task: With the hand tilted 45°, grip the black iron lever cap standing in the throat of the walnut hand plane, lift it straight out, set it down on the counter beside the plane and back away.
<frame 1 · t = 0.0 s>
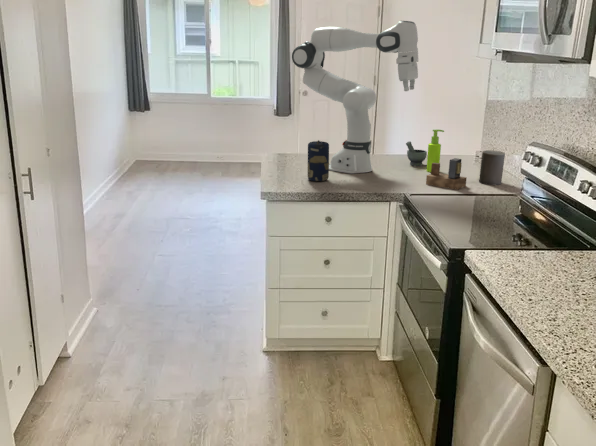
hand: (409, 90, 268), 39 cm above the countertop, tool pointing down, fingers open, 8 cm apart
soap dispenser: (433, 171, 287), on the countertop
candle: (317, 180, 268), on the countertop
pillar candle: (490, 182, 266), on the countertop
mortar and pestle: (414, 165, 301), on the countertop
hand plane: (453, 186, 257), on the countertop
lever cap: (453, 186, 257), resting in hand plane
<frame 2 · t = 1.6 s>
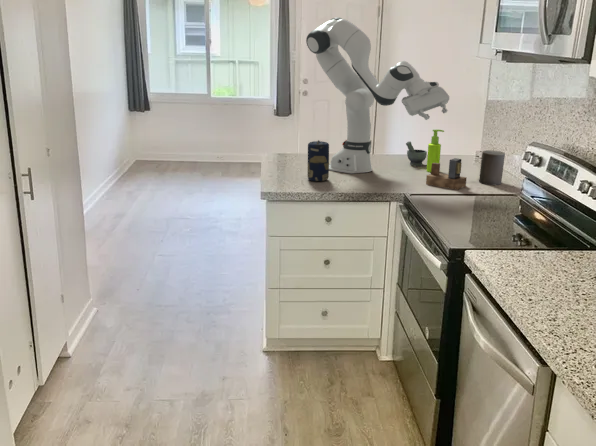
hand: (436, 115, 252), 30 cm above the countertop, tool tilted 50°, fingers open, 8 cm apart
nothing on the countertop moved.
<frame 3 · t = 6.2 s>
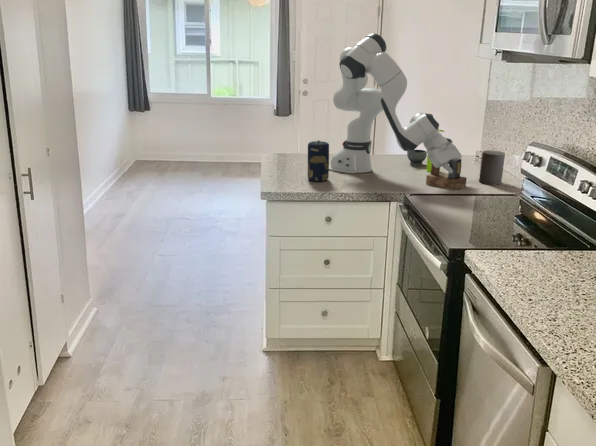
hand: (455, 171, 255), 7 cm above the countertop, tool tilted 45°, fingers closed on lever cap, 5 cm apart
lever cap: (453, 186, 257), resting in hand plane, touching gripper
everything else where it was.
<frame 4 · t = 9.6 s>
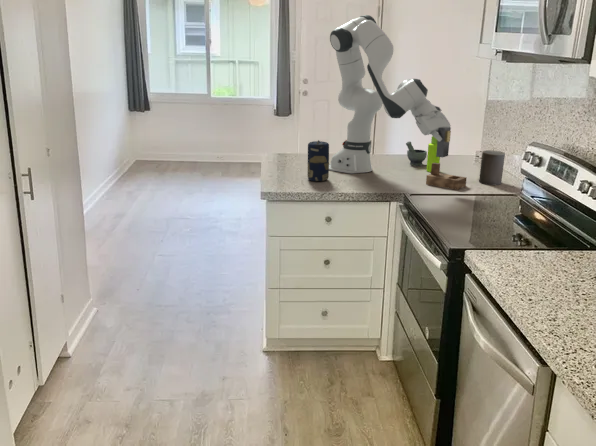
hand: (444, 139, 246), 21 cm above the countertop, tool tilted 45°, fingers closed on lever cap, 5 cm apart
lever cap: (442, 156, 248), point 14 cm above the countertop, touching gripper
everything else where it was.
when the fingers open (8 cm above the countertop, at t = 13.1 s): lever cap drops 1 cm, on the countertop.
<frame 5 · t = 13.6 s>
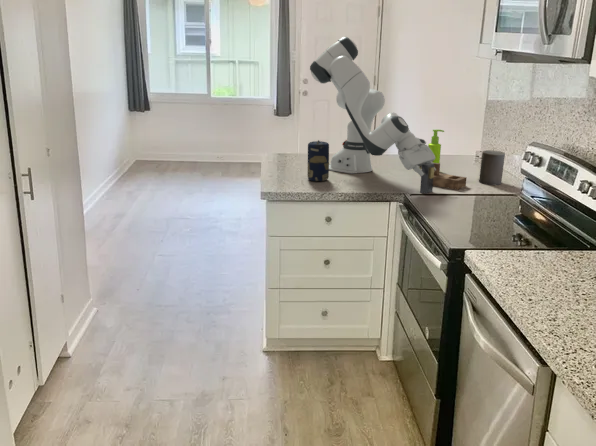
hand: (428, 173, 245), 8 cm above the countertop, tool tilted 45°, fingers open, 8 cm apart
lever cap: (426, 192, 248), on the countertop
everything else where it was.
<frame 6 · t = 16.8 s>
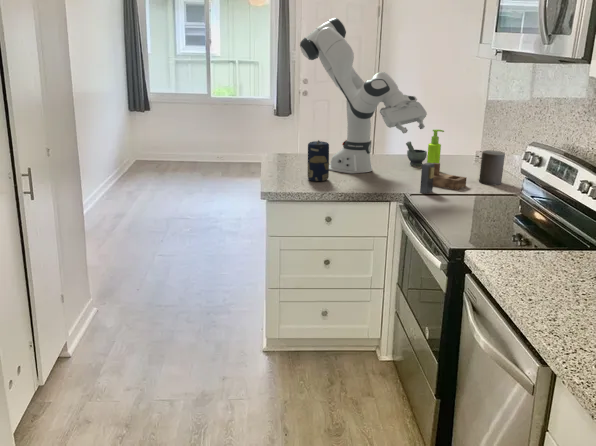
hand: (414, 130, 244), 25 cm above the countertop, tool tilted 45°, fingers open, 8 cm apart
nothing on the countertop moved.
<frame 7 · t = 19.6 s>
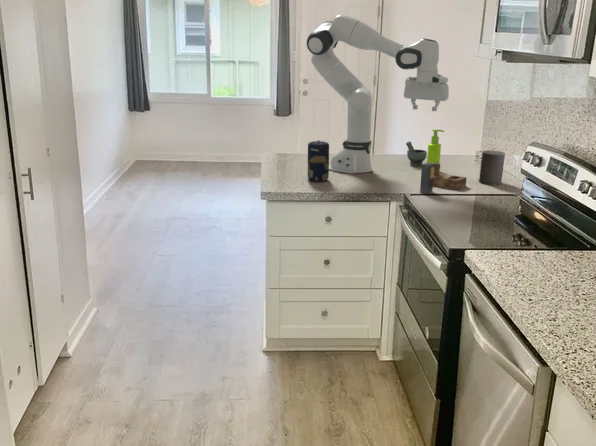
hand: (424, 110, 261), 31 cm above the countertop, tool pointing down, fingers open, 8 cm apart
nothing on the countertop moved.
at the end: lever cap touching countertop; lever cap inside the target area (0.1 cm from its centre), on the countertop; the gripper is holding nothing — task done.
